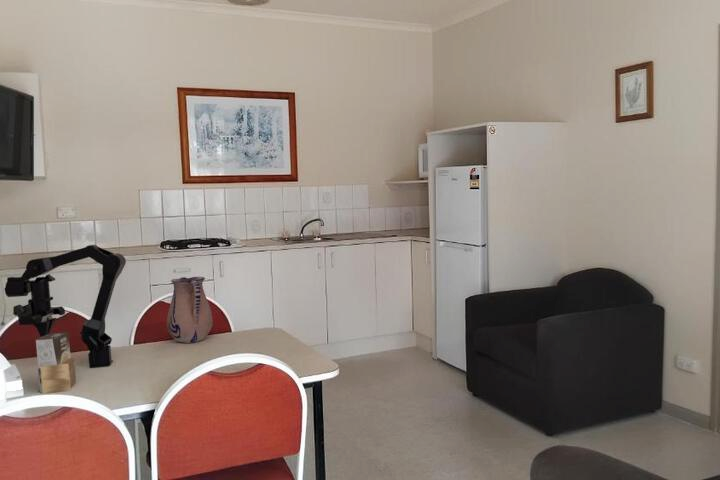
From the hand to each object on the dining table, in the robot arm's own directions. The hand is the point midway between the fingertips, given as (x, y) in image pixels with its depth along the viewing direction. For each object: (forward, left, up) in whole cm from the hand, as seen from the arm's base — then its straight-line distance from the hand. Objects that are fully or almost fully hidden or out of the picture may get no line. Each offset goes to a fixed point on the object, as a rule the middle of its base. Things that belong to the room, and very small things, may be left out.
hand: (44, 340), depth 212 cm
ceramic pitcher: (-48, -23, -10) cm, 54 cm away
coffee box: (-10, +26, -10) cm, 29 cm away
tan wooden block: (-11, +27, -10) cm, 31 cm away
